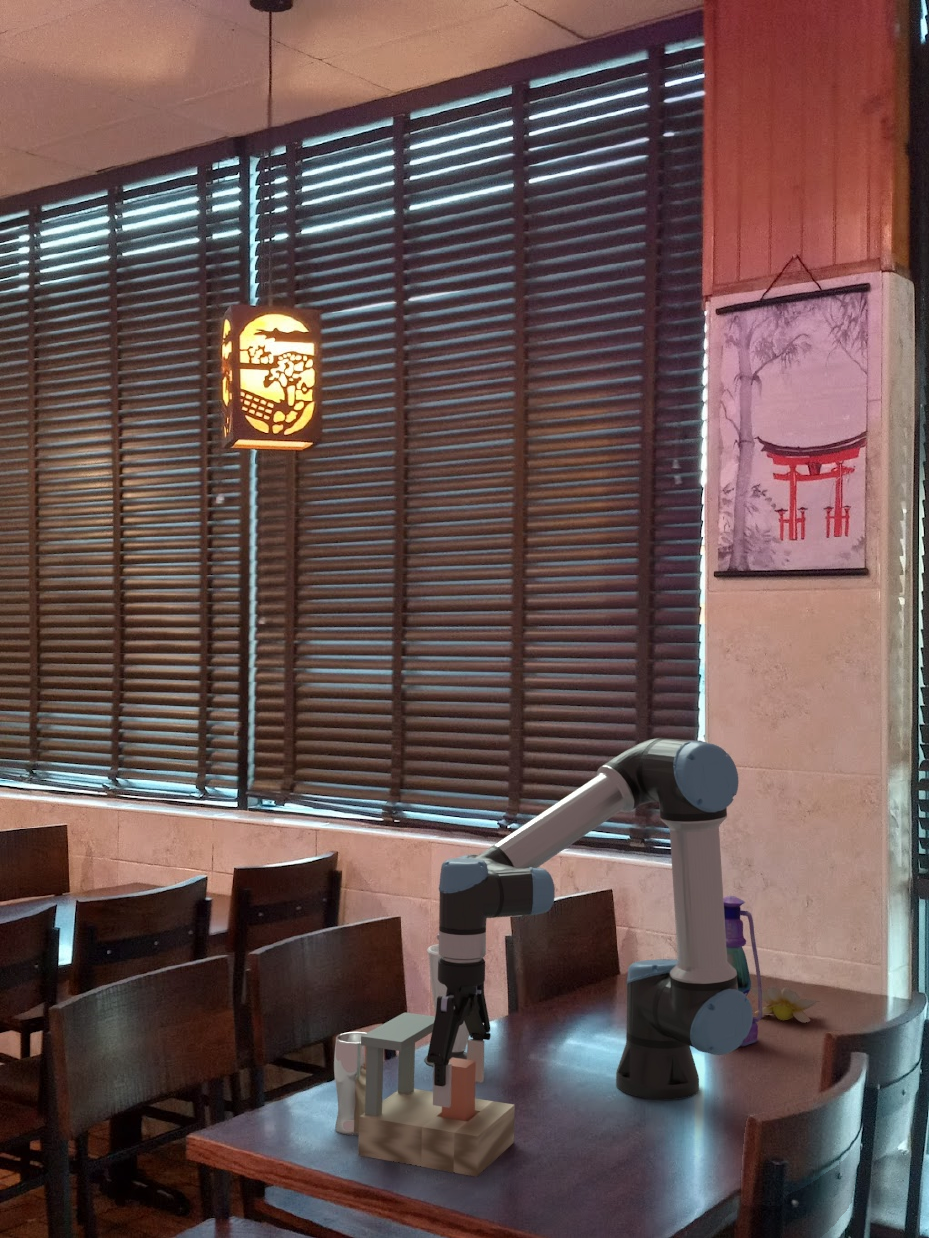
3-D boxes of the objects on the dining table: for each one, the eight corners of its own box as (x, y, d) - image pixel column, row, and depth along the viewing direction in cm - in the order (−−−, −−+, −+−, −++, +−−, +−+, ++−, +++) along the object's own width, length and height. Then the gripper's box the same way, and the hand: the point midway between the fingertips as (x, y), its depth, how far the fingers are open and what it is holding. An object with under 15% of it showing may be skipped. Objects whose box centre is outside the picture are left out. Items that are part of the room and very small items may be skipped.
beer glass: (332, 1121, 220) (335, 1031, 221) (374, 1121, 221) (376, 1031, 221) (332, 1136, 213) (334, 1043, 214) (375, 1136, 214) (377, 1043, 214)
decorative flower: (833, 1010, 293) (827, 968, 292) (816, 1033, 284) (810, 989, 283) (769, 1004, 302) (763, 963, 300) (751, 1026, 292) (744, 984, 291)
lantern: (692, 1043, 271) (694, 897, 272) (703, 1029, 282) (705, 888, 283) (757, 1051, 266) (759, 902, 267) (766, 1037, 277) (768, 894, 278)
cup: (490, 1056, 259) (492, 945, 260) (471, 1072, 248) (474, 957, 249) (435, 1049, 263) (438, 940, 264) (415, 1065, 252) (417, 952, 253)
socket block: (513, 1142, 212) (514, 1104, 213) (476, 1176, 198) (477, 1136, 198) (402, 1123, 220) (402, 1086, 220) (358, 1155, 205) (359, 1116, 206)
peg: (474, 1149, 209) (475, 1060, 209) (464, 1158, 205) (466, 1067, 205) (450, 1145, 210) (452, 1057, 211) (440, 1154, 207) (442, 1064, 207)
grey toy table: (441, 1092, 218) (442, 1017, 218) (399, 1123, 203) (401, 1041, 203) (402, 1086, 220) (404, 1012, 221) (359, 1116, 206) (361, 1036, 206)
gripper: (469, 940, 222) (467, 1067, 221) (407, 971, 199) (403, 1113, 198) (511, 945, 219) (508, 1074, 218) (452, 976, 196) (449, 1120, 195)
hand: (458, 1093), depth 208 cm, fingers open, 13 cm apart
